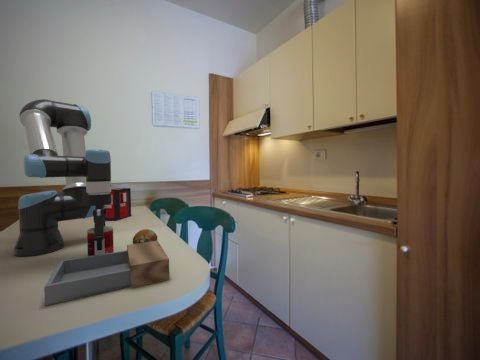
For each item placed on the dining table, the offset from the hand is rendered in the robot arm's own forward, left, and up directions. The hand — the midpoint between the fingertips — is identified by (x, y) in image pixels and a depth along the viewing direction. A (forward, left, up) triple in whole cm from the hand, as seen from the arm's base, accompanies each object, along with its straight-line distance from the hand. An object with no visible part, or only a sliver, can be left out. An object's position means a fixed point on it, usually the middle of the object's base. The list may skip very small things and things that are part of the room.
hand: (101, 252), depth 81 cm
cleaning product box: (+6, +80, -2) cm, 80 cm away
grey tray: (-1, -18, -2) cm, 18 cm away
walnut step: (+13, -18, -2) cm, 22 cm away
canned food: (0, 0, -2) cm, 2 cm away
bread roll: (+16, +12, -3) cm, 20 cm away
